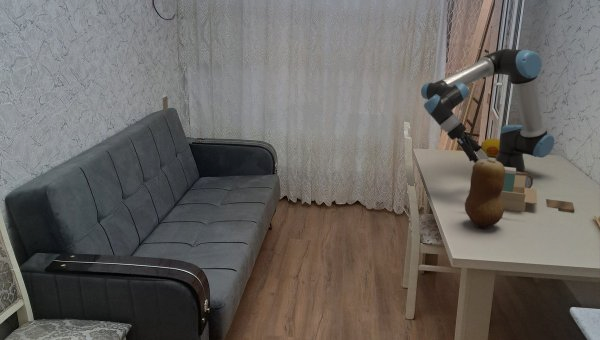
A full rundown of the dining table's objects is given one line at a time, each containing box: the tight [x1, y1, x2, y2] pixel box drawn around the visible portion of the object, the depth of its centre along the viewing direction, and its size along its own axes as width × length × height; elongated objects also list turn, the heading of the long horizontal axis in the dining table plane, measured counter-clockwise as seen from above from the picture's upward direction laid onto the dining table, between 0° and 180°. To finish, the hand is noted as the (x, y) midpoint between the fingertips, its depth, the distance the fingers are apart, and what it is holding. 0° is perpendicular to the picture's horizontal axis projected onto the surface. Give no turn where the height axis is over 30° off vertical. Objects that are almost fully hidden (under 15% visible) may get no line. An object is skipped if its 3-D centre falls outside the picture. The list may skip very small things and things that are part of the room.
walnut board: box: [545, 198, 575, 214], centre depth 212 cm, size 10×10×1 cm
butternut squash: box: [464, 159, 505, 229], centre depth 188 cm, size 14×13×25 cm
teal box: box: [502, 167, 516, 192], centre depth 214 cm, size 5×5×14 cm
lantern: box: [480, 138, 500, 158], centre depth 291 cm, size 10×10×30 cm
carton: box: [500, 175, 538, 213], centre depth 215 cm, size 23×26×9 cm
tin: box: [515, 171, 534, 189], centre depth 233 cm, size 15×3×8 cm, turn 71°
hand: (487, 166), depth 214 cm, fingers open, 13 cm apart
